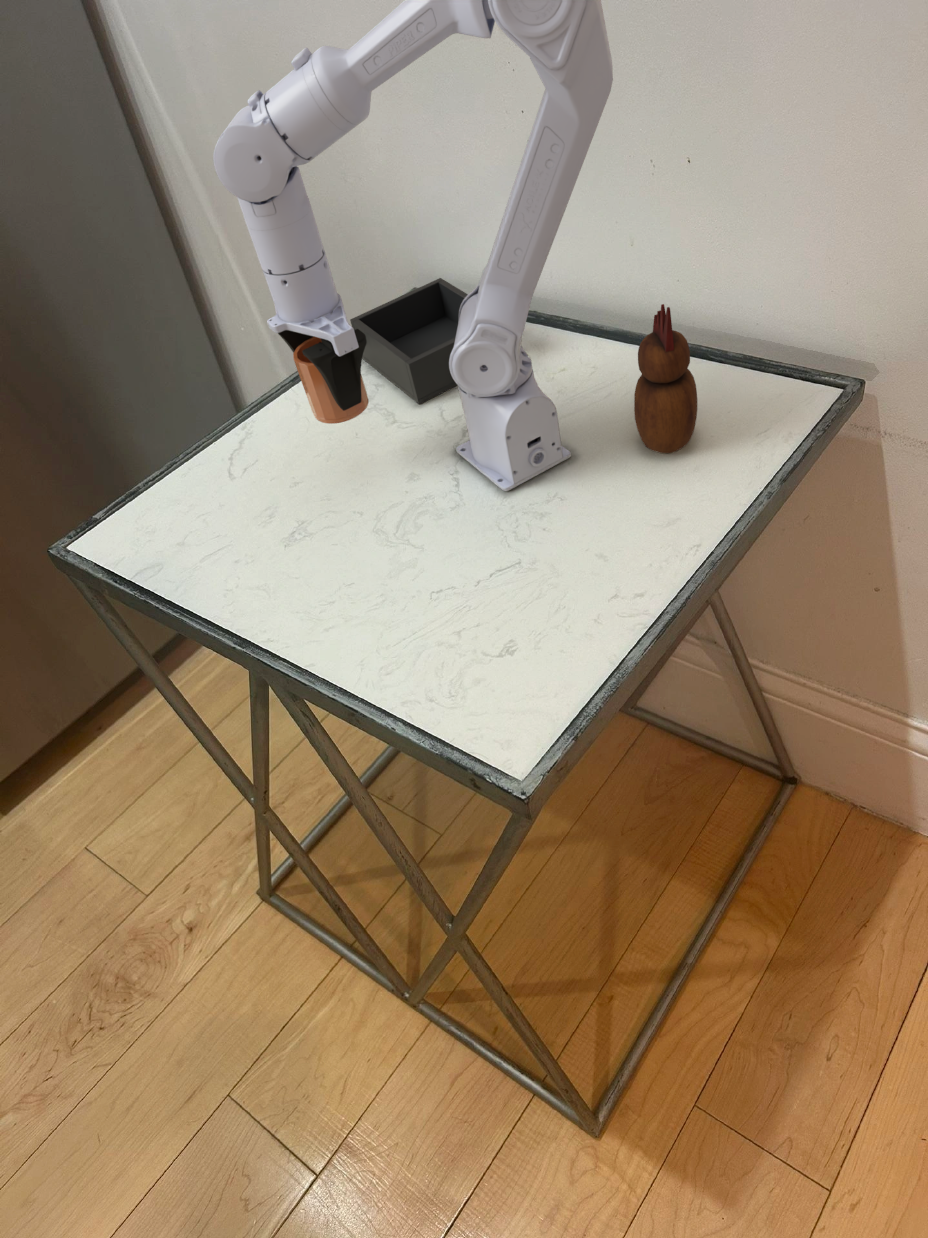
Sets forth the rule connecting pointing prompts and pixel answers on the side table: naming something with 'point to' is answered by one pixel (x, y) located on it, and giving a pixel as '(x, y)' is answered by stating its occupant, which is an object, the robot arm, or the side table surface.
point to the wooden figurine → (665, 388)
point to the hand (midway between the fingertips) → (336, 392)
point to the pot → (323, 390)
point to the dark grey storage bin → (414, 338)
